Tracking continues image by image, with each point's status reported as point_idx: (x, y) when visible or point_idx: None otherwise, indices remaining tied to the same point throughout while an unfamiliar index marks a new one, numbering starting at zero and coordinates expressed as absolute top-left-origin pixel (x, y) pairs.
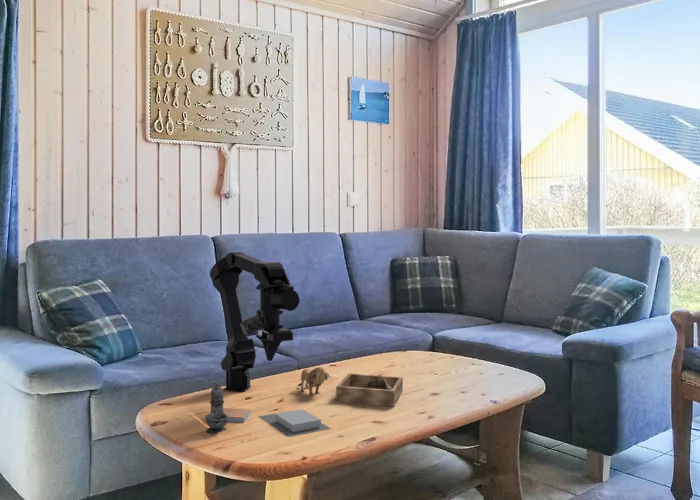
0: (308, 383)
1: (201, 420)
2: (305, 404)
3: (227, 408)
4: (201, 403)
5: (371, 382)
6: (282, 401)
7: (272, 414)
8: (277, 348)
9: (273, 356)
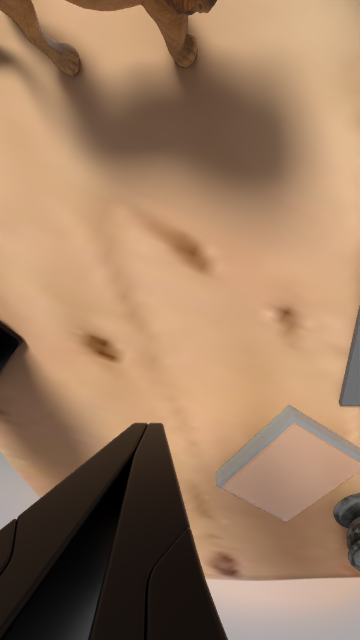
0: (129, 7)
1: (258, 510)
2: (302, 161)
3: (248, 469)
4: None
5: None
6: (200, 247)
7: (356, 360)
8: (197, 554)
9: (168, 450)
